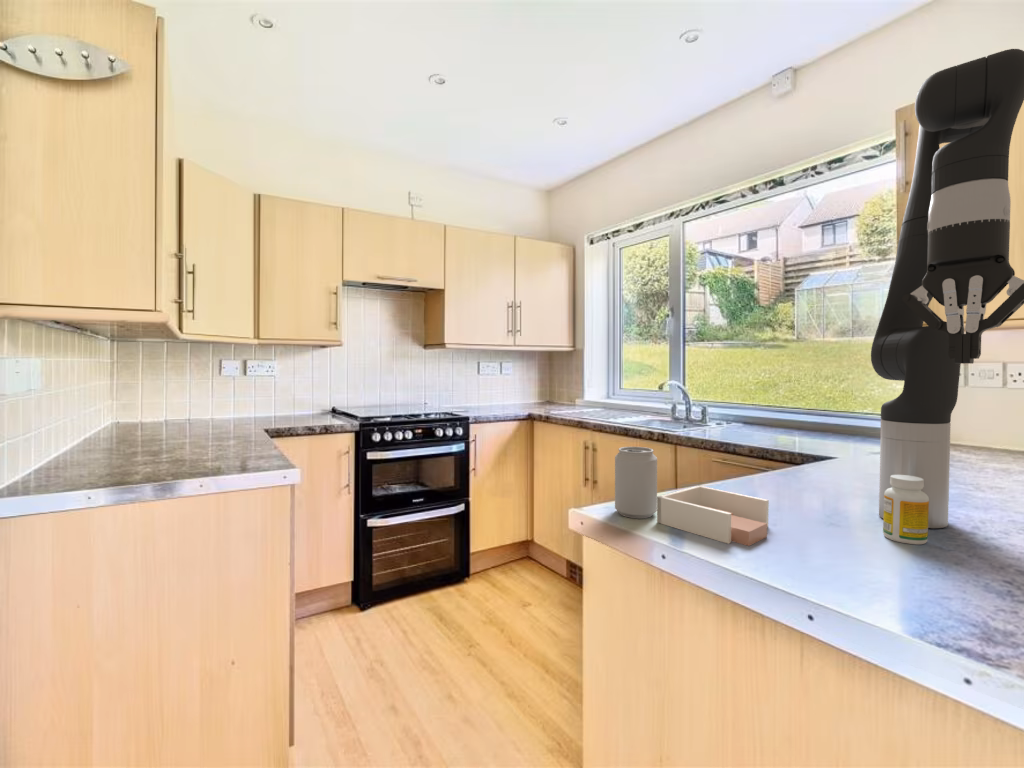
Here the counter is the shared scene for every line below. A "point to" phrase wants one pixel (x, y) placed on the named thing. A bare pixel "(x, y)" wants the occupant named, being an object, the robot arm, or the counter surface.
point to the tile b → (747, 530)
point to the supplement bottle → (906, 510)
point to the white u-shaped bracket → (708, 511)
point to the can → (636, 482)
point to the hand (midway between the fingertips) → (963, 363)
